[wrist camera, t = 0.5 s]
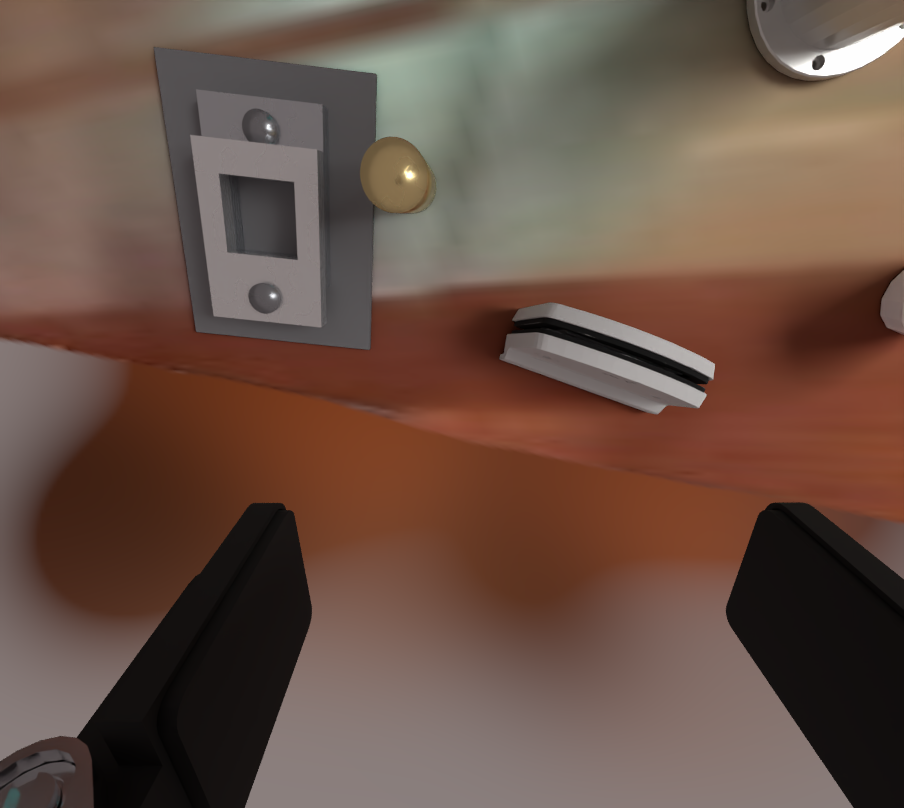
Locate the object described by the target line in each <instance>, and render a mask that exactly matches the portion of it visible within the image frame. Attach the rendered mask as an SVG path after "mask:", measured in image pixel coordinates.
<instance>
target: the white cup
mask: <svg viewBox="0 0 904 808" xmlns="http://www.w3.org/2000/svg"><path fill="white" fill-rule="evenodd" d="M880 316H881V318H882V320H883V322H884V323H885V325H886V327H887V328H889V329H891V330H893V331H895V332H898V333H900V334H902V335H904V270H903V271H902V272H901V273H900V274H899V275H898V276H897V277H896V278H895V279H893V280H892V281H891V283H890V285H889V286H888V288H887V290H886V292H885V294H884V295H883V297H882V301H881V310H880Z"/></svg>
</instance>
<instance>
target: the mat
mask: <svg viewBox="0 0 904 808" xmlns="http://www.w3.org/2000/svg"><path fill="white" fill-rule="evenodd" d="M154 52H155V59H156V66H157V73H158V79H159V86H160V93H161V99H162V106H163V113H164V119H165V126H166V133H167V140H168V146H169V153H170V160H171V166H172V173H173V180H174V186H175V193H176V200H177V207H178V213H179V220H180V227H181V233H182V240H183V247H184V253H185V260H186V267H187V274H188V280H189V287H190V294H191V300H192V307H193V314H194V320H195V327H196V332H203V333H212V334H222V335H232V336H241V337H251V338H260V339H270V340H280V341H289V342H299V343H308V344H318V345H328V346H337V347H347V348H356V349H366V350H370V344H371V303H372V262H373V220H374V204H373V203H372V202H371V201H370V200H369V199H368V197H367V196H366V194H365V192H364V190H363V187H362V184H361V179H360V167H361V162H362V159H363V156H364V154H365V152H366V151H367V149H368V148H369V147H370V146H371V145H372V144H373V143H374V142H375V138H376V96H377V75H376V74H373V73H365V72H356V71H348V70H340V69H332V68H323V67H315V66H307V65H299V64H290V63H282V62H274V61H265V60H257V59H249V58H241V57H232V56H224V55H216V54H207V53H199V52H191V51H183V50H174V49H166V48H158V47H154ZM196 89H198V90H206V91H214V92H223V93H231V94H240V95H248V96H257V97H265V98H273V99H282V100H290V101H299V102H307V103H316V104H323V105H324V106H325V107H326V108H328V123H329V191H330V259H331V286H329V287H328V288H326V317H327V323H326V324H325V325H324V326H323V327H312V326H302V325H293V324H283V323H274V322H264V321H255V320H245V319H236V318H226V317H217V316H214V315H213V307H212V300H211V292H210V284H209V277H208V269H207V261H206V253H205V246H204V238H203V230H202V223H201V215H200V207H199V200H198V192H197V184H196V176H195V169H194V161H193V153H192V146H191V138H190V135H196V136H202V135H201V127H200V119H199V110H198V102H197V94H196ZM239 188H240V199H241V210H242V220H243V231H244V242H245V249H246V250H255V251H264V252H273V253H282V254H291V255H297V234H296V212H295V190H294V183H290V182H281V181H272V180H263V179H255V178H246V177H239Z"/></svg>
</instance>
